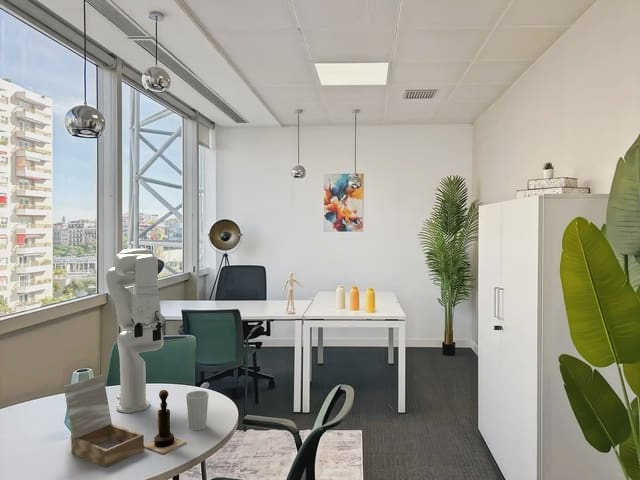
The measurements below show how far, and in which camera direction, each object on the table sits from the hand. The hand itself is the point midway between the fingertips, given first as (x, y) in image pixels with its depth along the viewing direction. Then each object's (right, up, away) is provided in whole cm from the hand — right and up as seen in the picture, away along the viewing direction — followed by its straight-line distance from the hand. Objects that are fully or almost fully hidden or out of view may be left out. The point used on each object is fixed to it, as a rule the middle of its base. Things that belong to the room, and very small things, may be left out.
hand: (147, 338), depth 182 cm
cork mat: (+9, -34, -10) cm, 36 cm away
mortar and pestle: (+9, -33, -10) cm, 36 cm away
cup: (+17, -33, +5) cm, 38 cm away
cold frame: (-10, -34, -14) cm, 38 cm away
